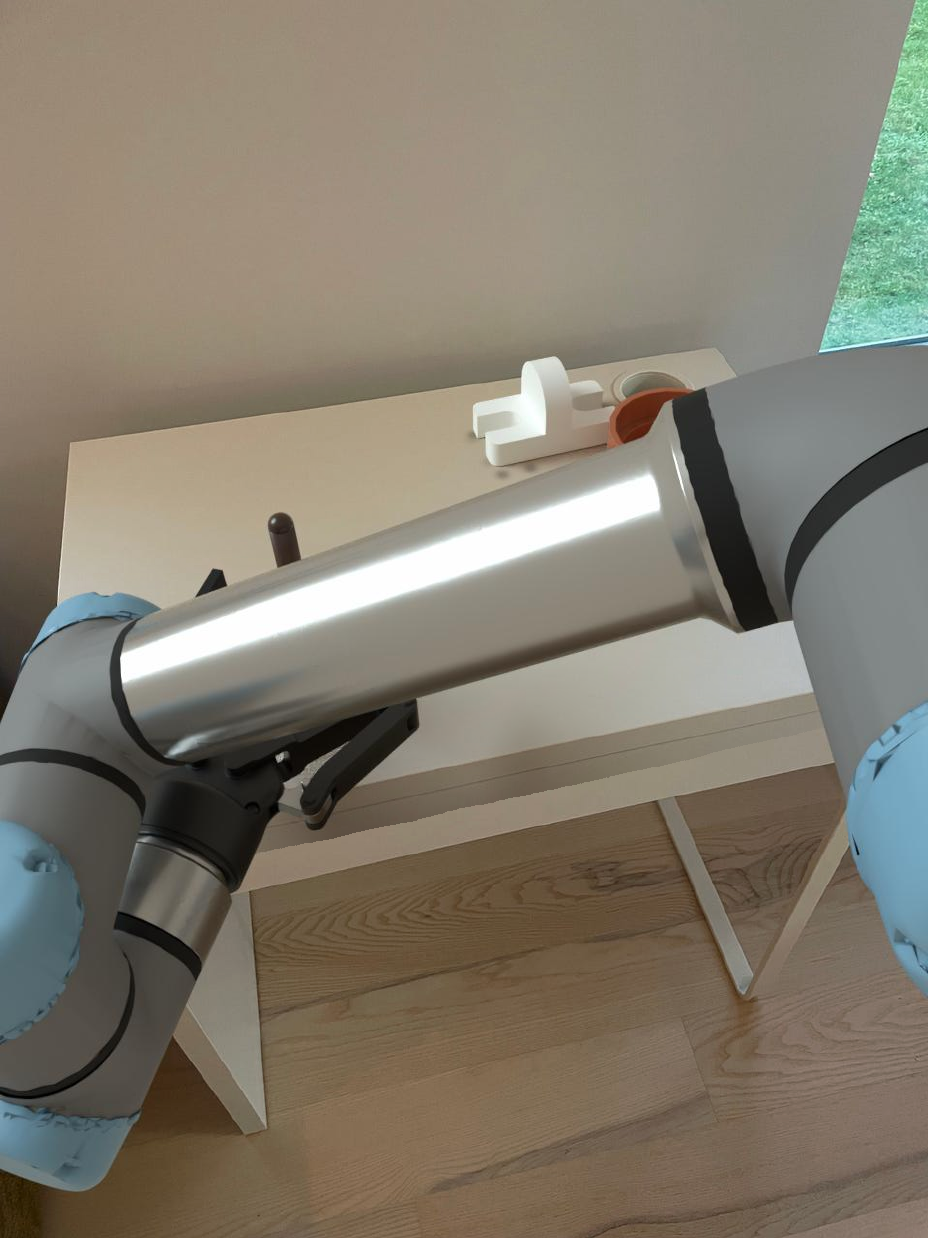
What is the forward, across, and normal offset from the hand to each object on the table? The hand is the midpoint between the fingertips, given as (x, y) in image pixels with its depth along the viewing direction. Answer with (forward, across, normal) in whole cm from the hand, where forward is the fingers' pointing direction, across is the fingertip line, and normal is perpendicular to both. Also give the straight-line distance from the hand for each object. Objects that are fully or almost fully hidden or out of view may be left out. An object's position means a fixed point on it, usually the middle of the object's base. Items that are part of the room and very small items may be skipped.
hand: (311, 598), depth 67 cm
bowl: (+31, +22, -10) cm, 39 cm away
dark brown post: (-2, 0, -10) cm, 10 cm away
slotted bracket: (+35, +10, -10) cm, 38 cm away
